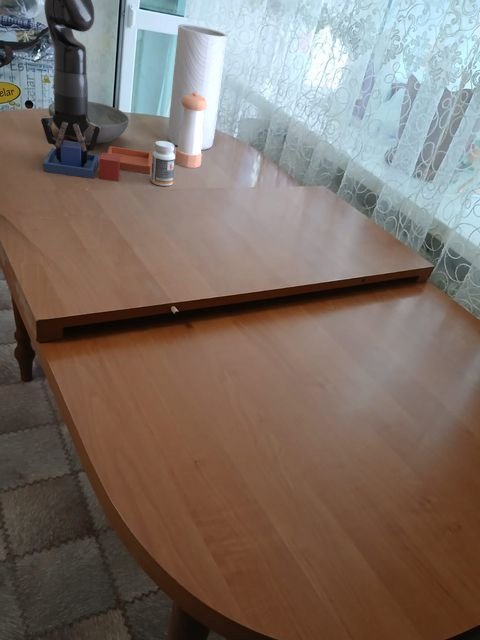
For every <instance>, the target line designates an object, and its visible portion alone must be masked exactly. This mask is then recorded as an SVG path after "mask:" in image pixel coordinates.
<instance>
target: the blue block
mask: <svg viewBox="0 0 480 640" xmlns="http://www.w3.org/2000/svg"><path fill="white" fill-rule="evenodd" d="M81 150H82V149H81V146H80V143H79V141H71V140H67V139H63V142H62V144H61V165H68V166H75V167H81Z"/></svg>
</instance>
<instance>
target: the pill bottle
mask: <svg viewBox="0 0 480 640" xmlns="http://www.w3.org/2000/svg"><path fill="white" fill-rule="evenodd" d="M154 148H155V150H154V151H153V152H152V161H151V171H150V181H151V183H152V184H154V185H157V186H159V187H169V186H172V185H173V184H174V178H175V177H174V176H175V164H176V162H175V158H176V154H175V153H174V151H175V144H173V143H172V142H170V141H166V140H157V141H155V143H154Z"/></svg>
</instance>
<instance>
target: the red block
mask: <svg viewBox="0 0 480 640" xmlns="http://www.w3.org/2000/svg"><path fill="white" fill-rule="evenodd" d="M98 167H99V168H98V172H99V173H98V178H99V180H107V181H115V182H119V180H120V175H121V170H120V155H114V154H107V152H101V154H100V156H99V160H98Z"/></svg>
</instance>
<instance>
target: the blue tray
mask: <svg viewBox="0 0 480 640" xmlns="http://www.w3.org/2000/svg"><path fill="white" fill-rule="evenodd" d="M99 157H100V156H99V154H94V153H88V160H87V163H86V164H85V165H84V166H81V167H75V166H68V165H61V163H59V160H57V158H56V147H51V148H50V150H49V152H48V154H47V156H46V157H45V159H44V161H43V163H42V171H43V173H50V174H51V173H52V174H59V175H65V176H72V177H73V176H74V177H78V178H87V179H94V177H95V174H96V171H97V167H98V166H99Z"/></svg>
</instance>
